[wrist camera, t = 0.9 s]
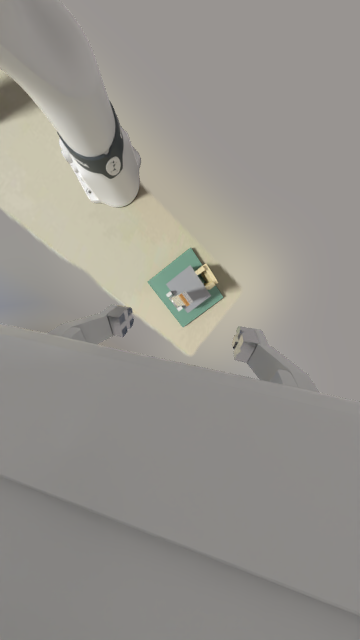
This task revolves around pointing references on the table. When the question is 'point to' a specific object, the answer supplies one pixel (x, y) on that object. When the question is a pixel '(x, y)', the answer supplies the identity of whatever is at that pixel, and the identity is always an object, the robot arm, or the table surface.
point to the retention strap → (181, 299)
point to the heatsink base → (173, 273)
